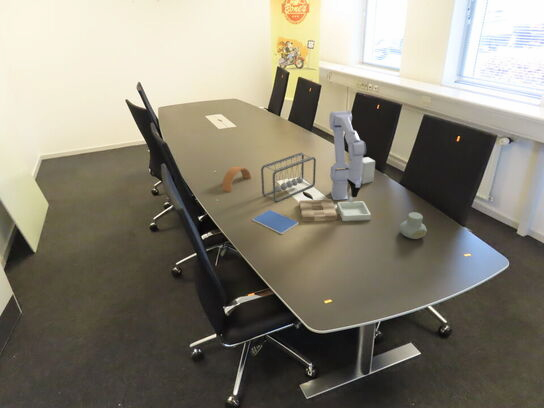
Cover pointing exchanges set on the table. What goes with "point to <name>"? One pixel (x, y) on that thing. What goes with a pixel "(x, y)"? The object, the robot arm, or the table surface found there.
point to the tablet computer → (275, 221)
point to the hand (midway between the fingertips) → (353, 194)
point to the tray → (353, 211)
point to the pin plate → (317, 215)
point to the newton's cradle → (288, 183)
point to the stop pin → (350, 198)
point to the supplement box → (367, 170)
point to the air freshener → (413, 226)
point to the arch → (230, 176)
